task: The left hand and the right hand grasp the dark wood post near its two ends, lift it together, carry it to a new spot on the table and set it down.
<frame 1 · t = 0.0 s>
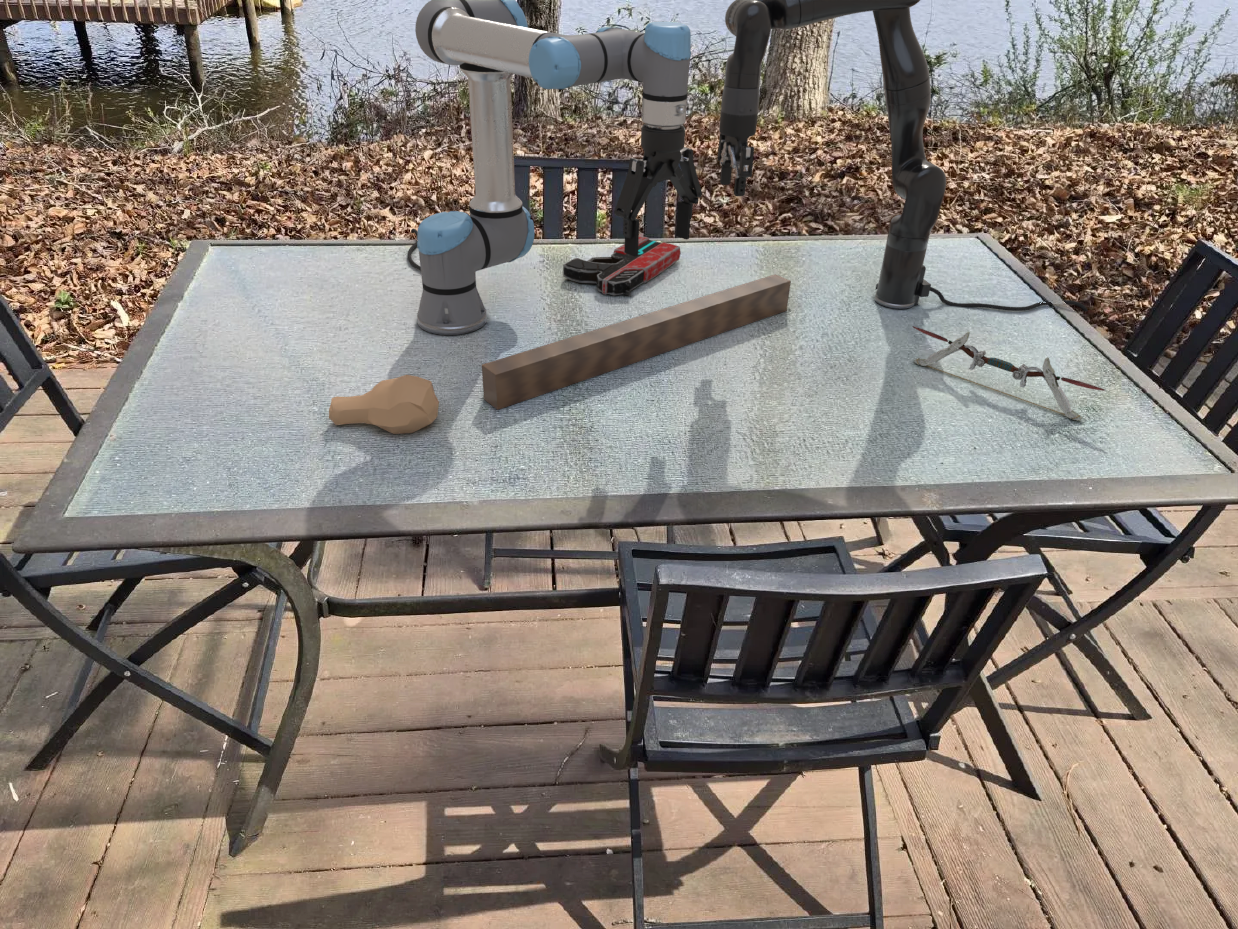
left hand: (657, 245, 161), 28 cm above the table, tool pointing down, fingers open, 13 cm apart
right hand: (731, 189, 187), 29 cm above the table, tool pointing down, fingers open, 8 cm apart
squash: (386, 424, 160), on the table
bow: (992, 390, 176), on the table
gun: (623, 272, 224), on the table
post: (650, 350, 187), on the table
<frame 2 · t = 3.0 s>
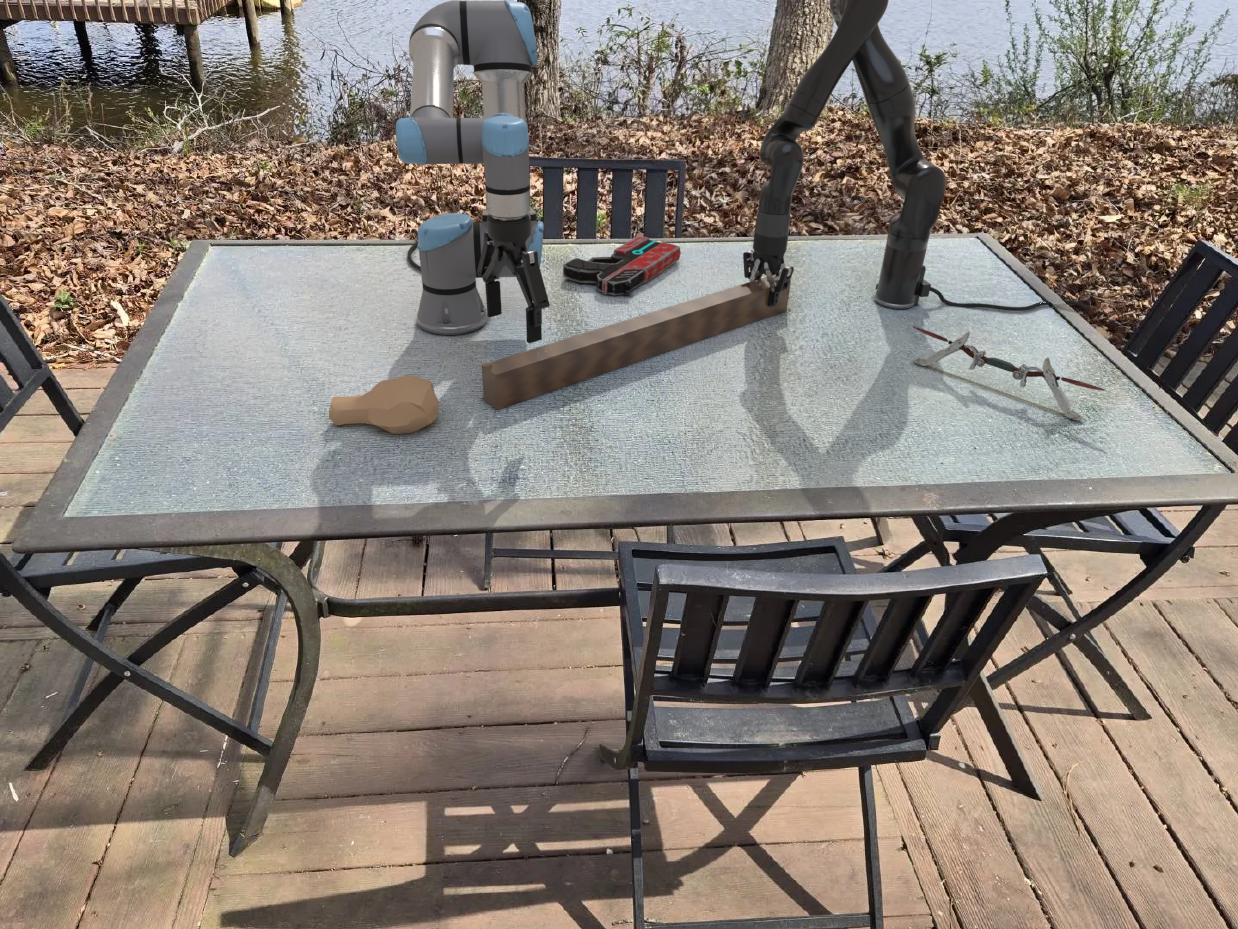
left hand: (513, 327, 162), 14 cm above the table, tool pointing down, fingers open, 13 cm apart
right hand: (763, 301, 204), 3 cm above the table, tool pointing down, fingers closed on post, 5 cm apart
post: (650, 350, 187), on the table, touching right hand
everything else where it was.
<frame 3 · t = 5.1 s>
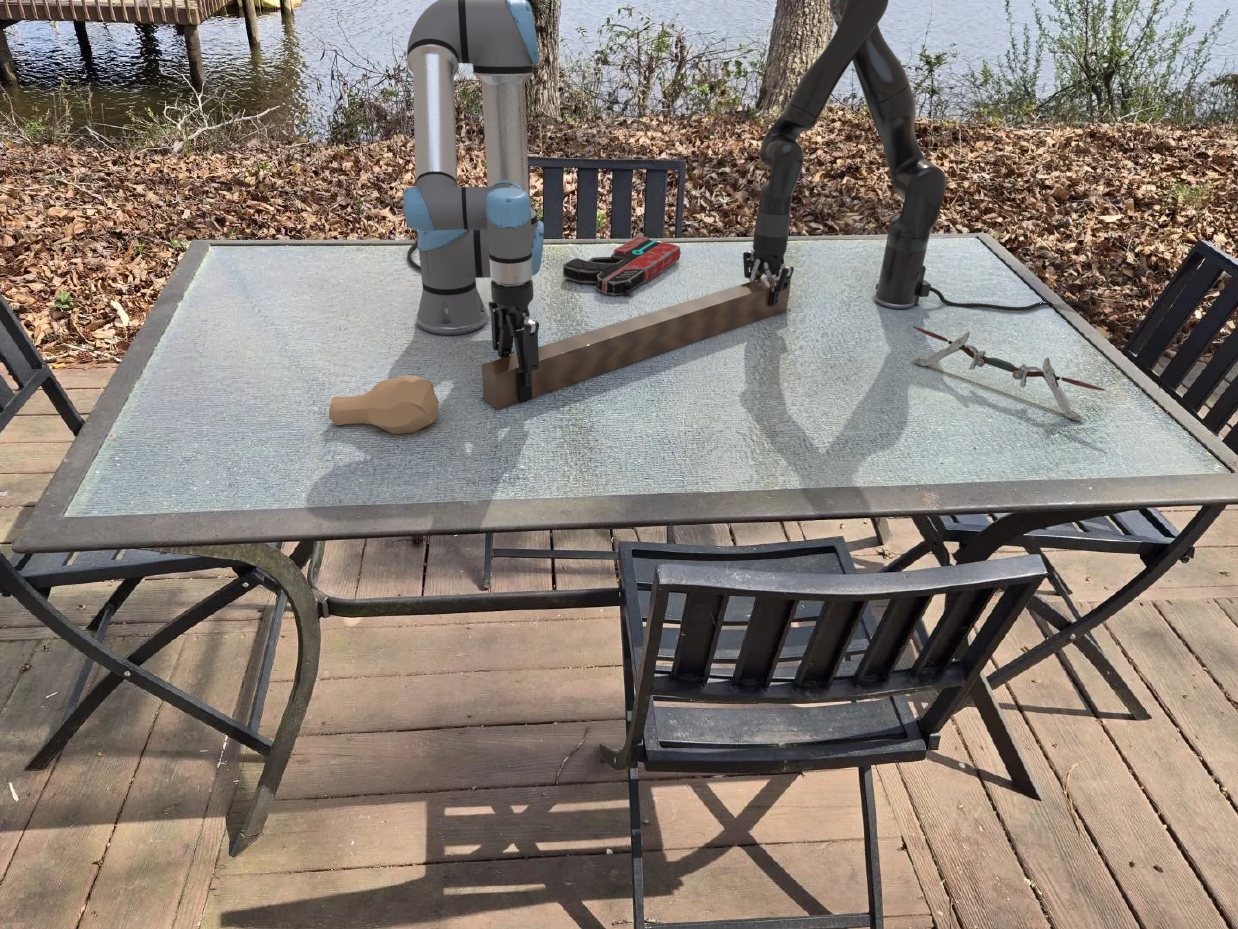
left hand: (517, 393, 169), 1 cm above the table, tool pointing down, fingers closed on post, 5 cm apart
right hand: (762, 301, 204), 3 cm above the table, tool pointing down, fingers closed on post, 5 cm apart
post: (650, 350, 187), on the table, touching left hand, right hand
everything else where it was.
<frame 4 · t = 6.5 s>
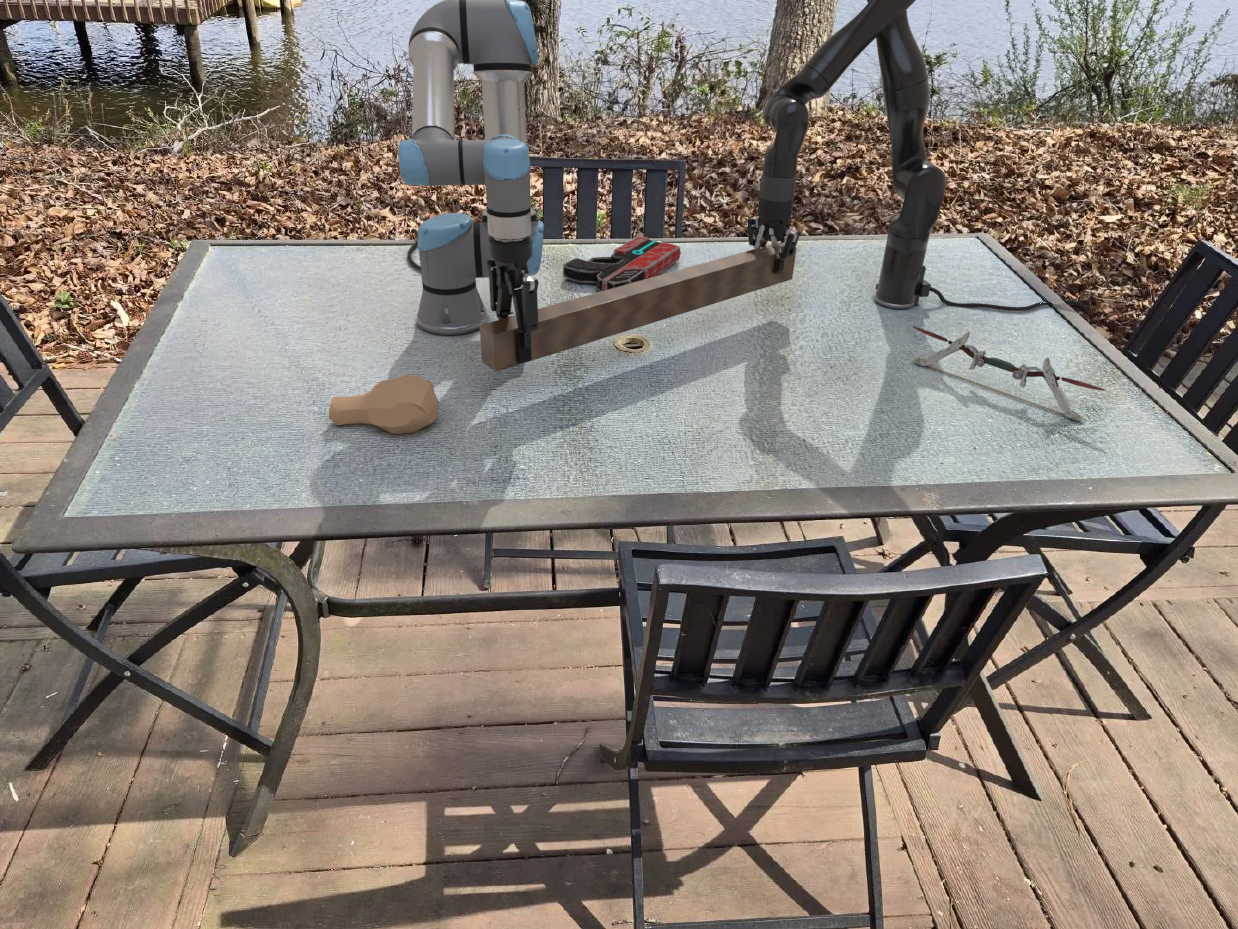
left hand: (516, 355, 165), 9 cm above the table, tool pointing down, fingers closed on post, 5 cm apart
right hand: (768, 269, 199), 11 cm above the table, tool pointing down, fingers closed on post, 5 cm apart
post: (653, 316, 183), point 8 cm above the table, touching left hand, right hand
everything else where it was.
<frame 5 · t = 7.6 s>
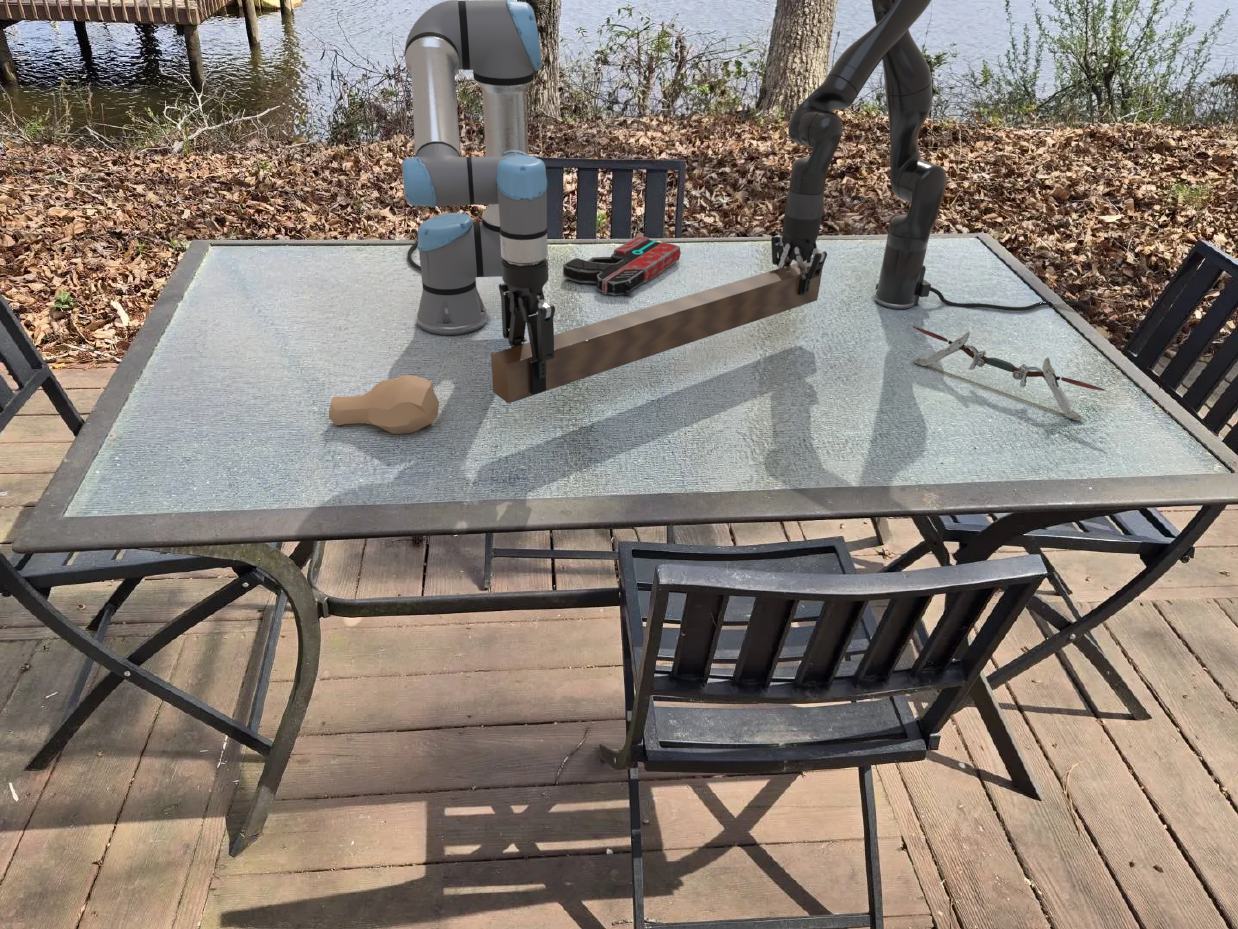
left hand: (529, 385, 154), 9 cm above the table, tool pointing down, fingers closed on post, 5 cm apart
right hand: (792, 289, 189), 11 cm above the table, tool pointing down, fingers closed on post, 5 cm apart
post: (673, 341, 173), point 8 cm above the table, touching left hand, right hand
everything else where it was.
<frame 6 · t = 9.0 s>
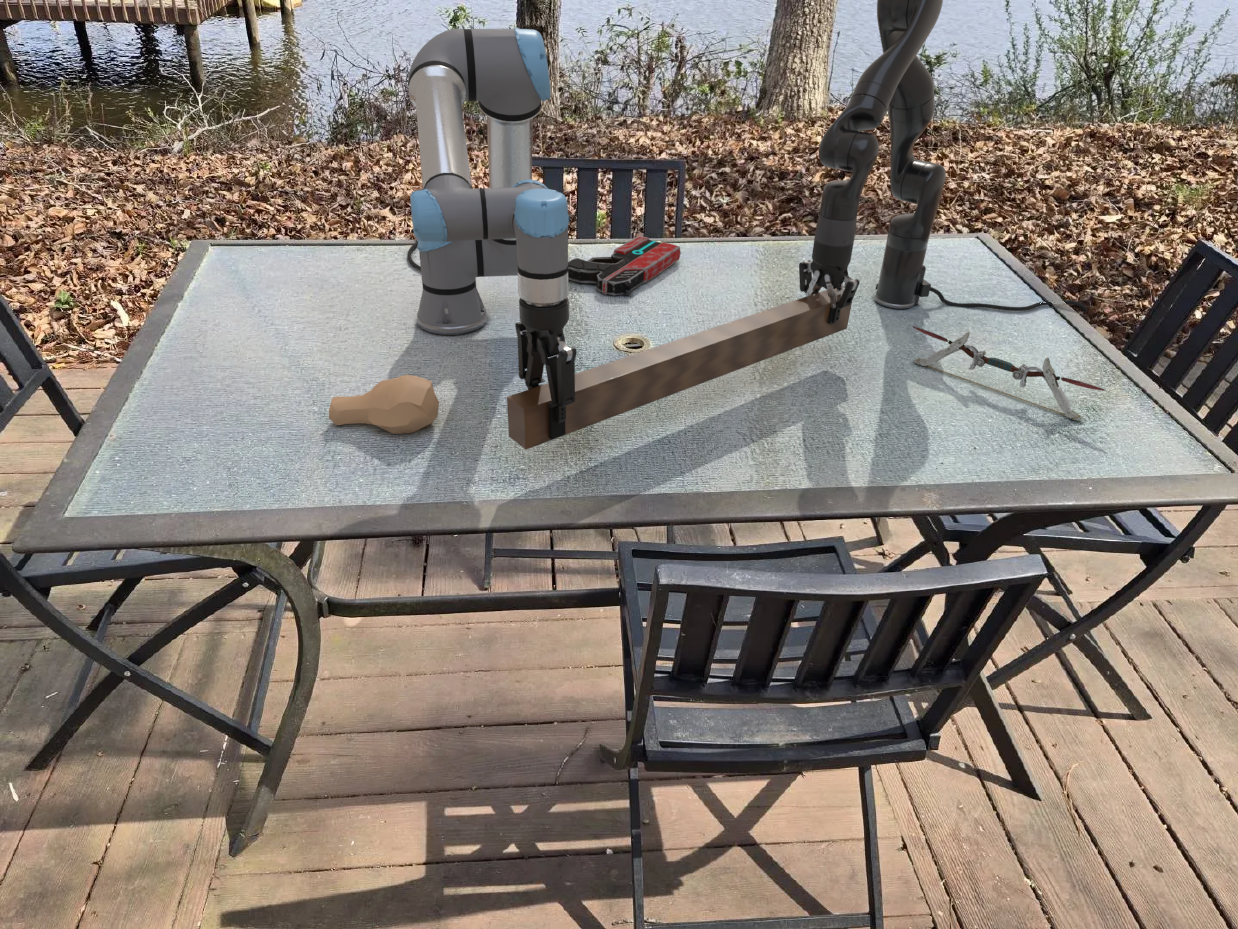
left hand: (547, 428, 145), 8 cm above the table, tool pointing down, fingers closed on post, 5 cm apart
right hand: (821, 318, 179), 10 cm above the table, tool pointing down, fingers closed on post, 5 cm apart
post: (697, 376, 163), point 7 cm above the table, touching left hand, right hand
everything else where it was.
when the left hand's fingers open (2 cm above the table, at t = 10.0 s): post drops 1 cm, on the table.
when the right hand's fingers open (4 cm above the table, at t = 10.2 s): post stays where it is, on the table.
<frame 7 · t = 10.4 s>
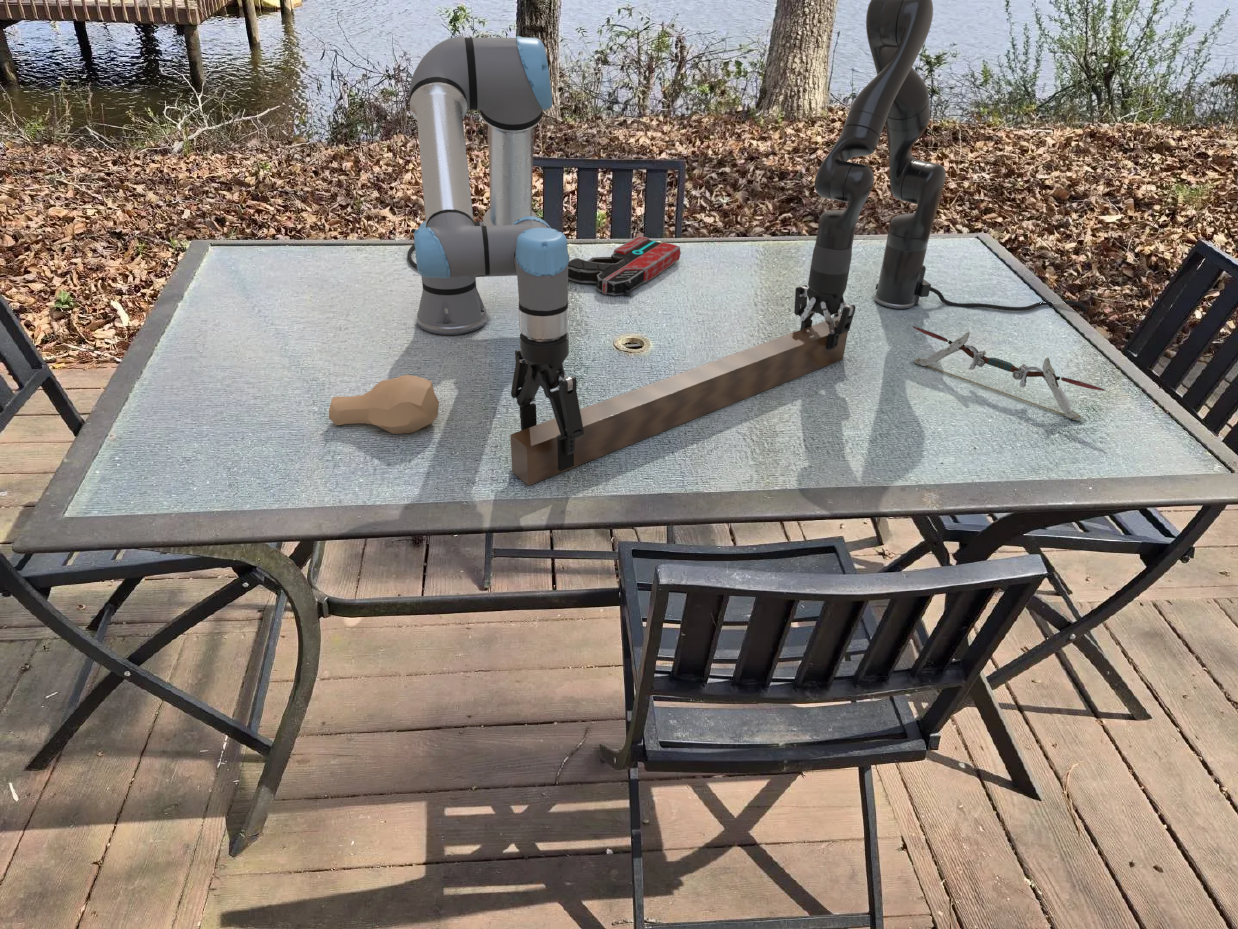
left hand: (547, 453, 147), 3 cm above the table, tool pointing down, fingers open, 10 cm apart
right hand: (817, 342, 182), 5 cm above the table, tool pointing down, fingers open, 6 cm apart
post: (696, 409, 167), on the table
everything else where it was.
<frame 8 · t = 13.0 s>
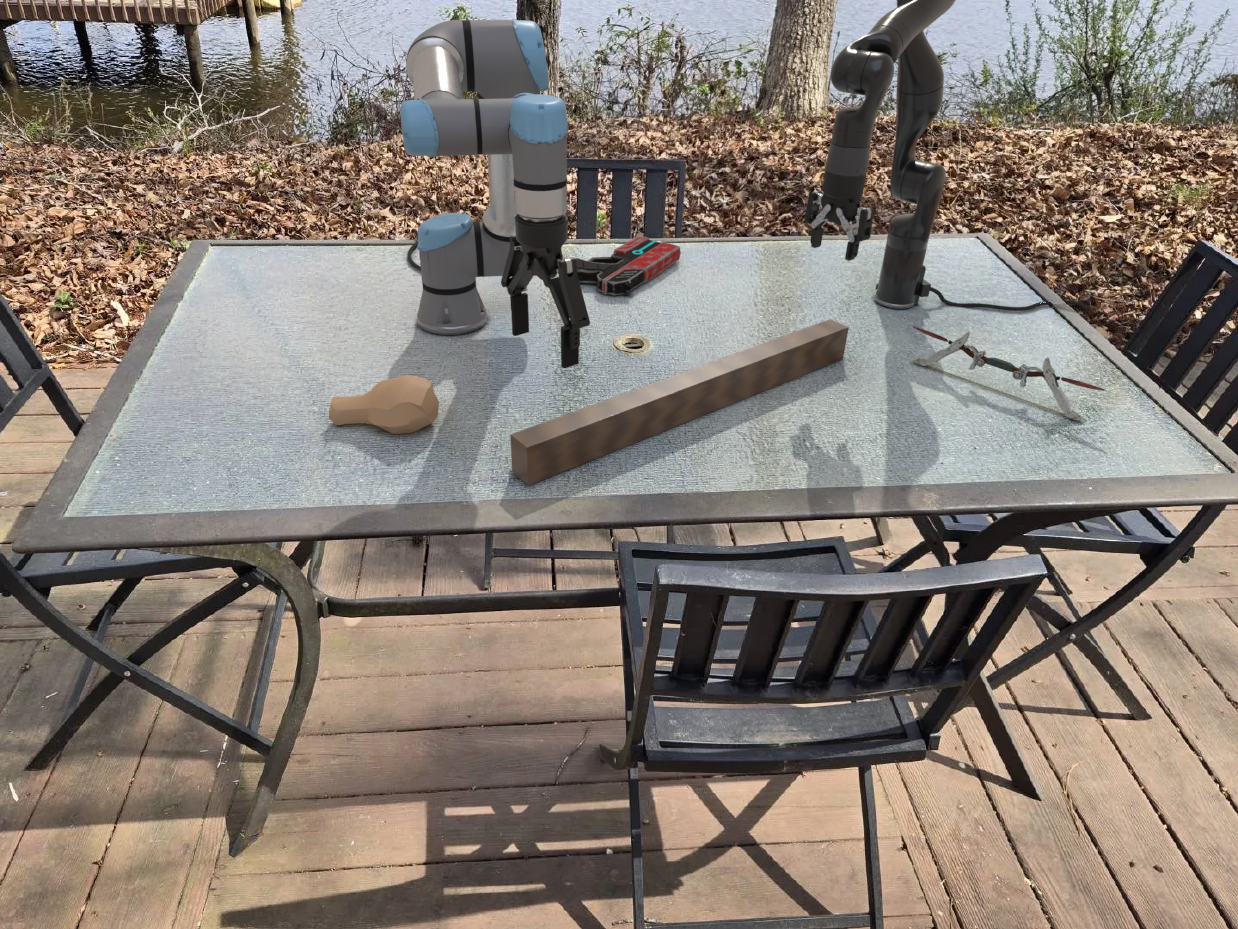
left hand: (544, 349, 136), 23 cm above the table, tool pointing down, fingers open, 13 cm apart
right hand: (832, 253, 171), 24 cm above the table, tool pointing down, fingers open, 8 cm apart
nothing on the table moved.
at the end: post inside the target area (0.5 cm from its centre), on the table; post tilted 0°; post never tilted more than 1° during the clip; both hands held the post at the same time; the left hand is holding nothing; the right hand is holding nothing; post at rest at the end (0.0 cm/s) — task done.
